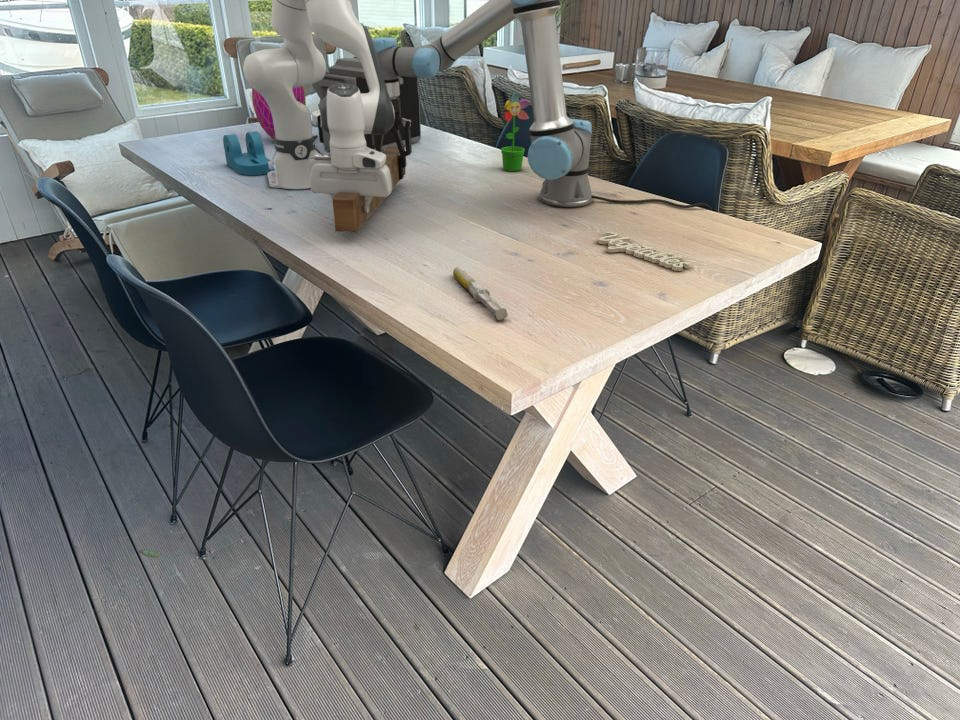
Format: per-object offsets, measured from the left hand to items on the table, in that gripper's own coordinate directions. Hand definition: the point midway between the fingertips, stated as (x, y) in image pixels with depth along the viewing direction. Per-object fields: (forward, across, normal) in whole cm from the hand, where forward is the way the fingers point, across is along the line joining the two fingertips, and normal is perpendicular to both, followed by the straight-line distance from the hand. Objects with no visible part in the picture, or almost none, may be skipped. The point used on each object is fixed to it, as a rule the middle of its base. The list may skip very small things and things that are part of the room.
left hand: (353, 211), depth 174 cm
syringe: (+6, +37, -33) cm, 50 cm away
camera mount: (+6, -52, +54) cm, 75 cm away
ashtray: (+7, -45, +130) cm, 137 cm away
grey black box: (+6, -21, +92) cm, 95 cm away
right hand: (+2, 0, +39) cm, 39 cm away
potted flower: (+6, +35, +69) cm, 77 cm away
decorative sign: (+5, +72, -3) cm, 72 cm away
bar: (+3, 0, +19) cm, 20 cm away
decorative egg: (+7, -56, +95) cm, 111 cm away
